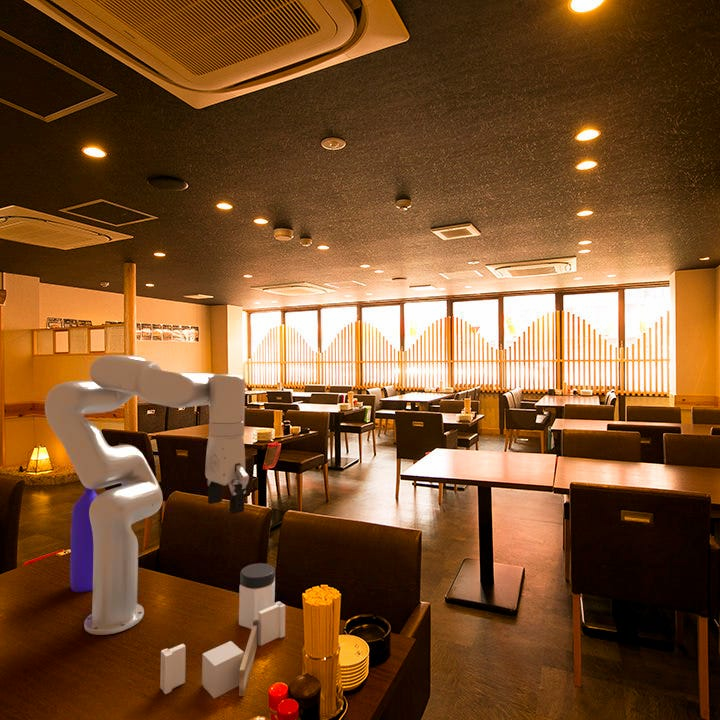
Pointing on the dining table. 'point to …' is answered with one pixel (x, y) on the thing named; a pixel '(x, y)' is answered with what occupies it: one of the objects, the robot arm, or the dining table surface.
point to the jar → (255, 592)
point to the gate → (248, 658)
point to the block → (221, 668)
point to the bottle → (82, 544)
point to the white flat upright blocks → (174, 658)
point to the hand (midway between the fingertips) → (225, 507)
